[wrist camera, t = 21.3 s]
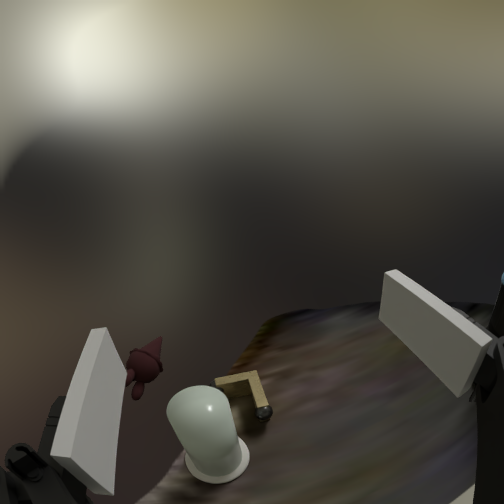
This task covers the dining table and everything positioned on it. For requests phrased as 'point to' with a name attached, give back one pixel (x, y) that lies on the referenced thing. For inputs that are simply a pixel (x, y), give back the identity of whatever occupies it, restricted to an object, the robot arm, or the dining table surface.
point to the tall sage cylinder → (206, 429)
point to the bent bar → (245, 391)
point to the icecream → (143, 366)
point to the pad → (221, 479)
